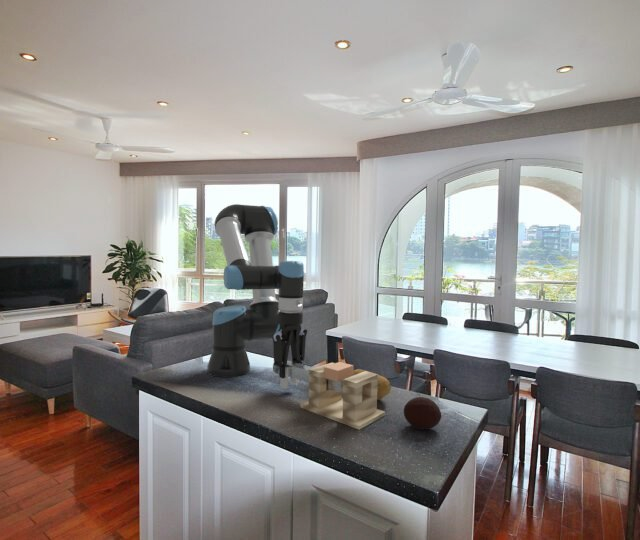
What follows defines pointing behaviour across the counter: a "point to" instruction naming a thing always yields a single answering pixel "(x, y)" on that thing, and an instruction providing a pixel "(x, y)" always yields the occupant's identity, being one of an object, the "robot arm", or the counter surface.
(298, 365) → the shaft
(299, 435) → the counter surface
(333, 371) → the spacer
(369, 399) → the bearing stand
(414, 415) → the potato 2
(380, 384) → the potato
